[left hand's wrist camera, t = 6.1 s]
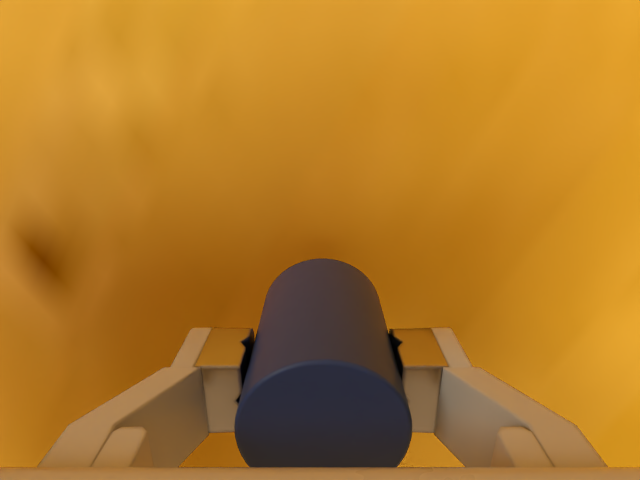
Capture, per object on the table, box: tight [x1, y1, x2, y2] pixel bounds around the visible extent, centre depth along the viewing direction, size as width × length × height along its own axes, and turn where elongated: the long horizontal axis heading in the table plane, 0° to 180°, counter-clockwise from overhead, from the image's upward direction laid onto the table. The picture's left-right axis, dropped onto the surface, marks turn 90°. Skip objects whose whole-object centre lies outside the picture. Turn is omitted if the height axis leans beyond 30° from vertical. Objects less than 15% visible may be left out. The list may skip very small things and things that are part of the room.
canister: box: [234, 259, 412, 467], centre depth 10 cm, size 3×3×5 cm
